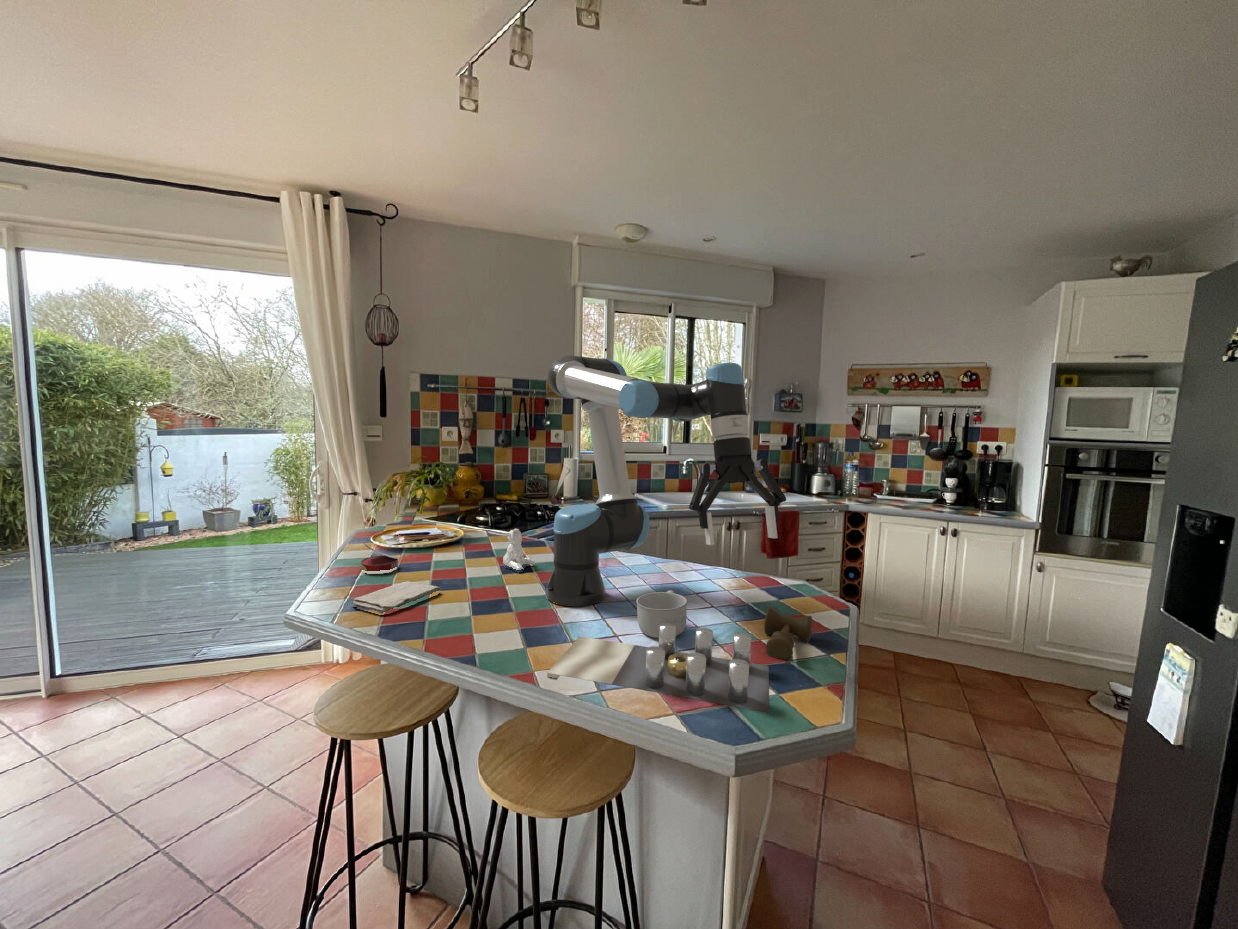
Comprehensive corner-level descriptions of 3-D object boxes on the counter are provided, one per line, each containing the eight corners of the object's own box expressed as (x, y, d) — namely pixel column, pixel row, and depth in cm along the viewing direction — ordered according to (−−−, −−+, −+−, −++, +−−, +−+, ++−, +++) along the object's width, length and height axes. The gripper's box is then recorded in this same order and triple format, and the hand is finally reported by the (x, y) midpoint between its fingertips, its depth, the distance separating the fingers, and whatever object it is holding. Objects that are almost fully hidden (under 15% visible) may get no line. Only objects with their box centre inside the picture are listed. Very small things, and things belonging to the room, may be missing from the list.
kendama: (752, 659, 101) (769, 621, 119) (803, 672, 97) (813, 631, 115) (754, 631, 100) (771, 597, 118) (806, 643, 96) (815, 606, 114)
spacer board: (547, 677, 91) (547, 672, 91) (578, 640, 106) (579, 636, 106) (768, 717, 80) (768, 712, 80) (768, 669, 96) (768, 665, 96)
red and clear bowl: (367, 582, 153) (369, 549, 156) (402, 578, 154) (403, 546, 157) (351, 575, 142) (354, 540, 146) (389, 571, 143) (390, 537, 147)
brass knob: (665, 676, 91) (666, 662, 90) (669, 664, 95) (670, 651, 95) (690, 680, 90) (691, 666, 89) (693, 668, 94) (694, 655, 94)
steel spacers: (643, 687, 87) (644, 653, 86) (660, 651, 100) (661, 621, 100) (747, 705, 82) (748, 669, 82) (749, 665, 96) (751, 634, 95)
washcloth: (348, 610, 120) (348, 597, 120) (408, 588, 136) (407, 576, 136) (385, 619, 115) (385, 606, 115) (442, 595, 132) (442, 583, 131)
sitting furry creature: (519, 574, 149) (520, 533, 148) (494, 570, 153) (495, 530, 151) (536, 565, 158) (536, 527, 157) (512, 562, 161) (512, 524, 160)
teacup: (672, 650, 103) (673, 612, 102) (626, 637, 108) (627, 600, 108) (699, 627, 114) (700, 593, 114) (656, 616, 120) (657, 583, 119)
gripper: (678, 440, 100) (688, 549, 98) (795, 431, 104) (807, 536, 103) (668, 444, 107) (678, 546, 106) (778, 436, 111) (789, 534, 110)
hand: (741, 541), depth 104 cm, fingers open, 13 cm apart
